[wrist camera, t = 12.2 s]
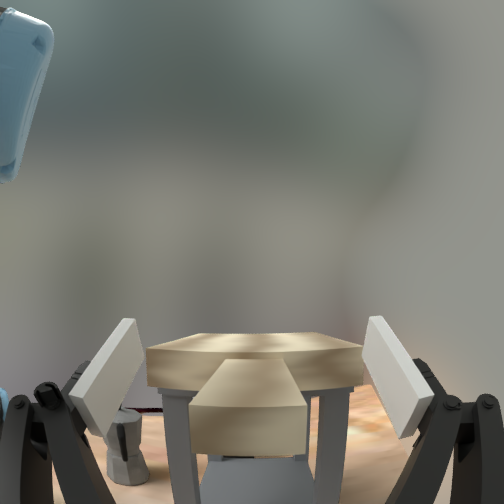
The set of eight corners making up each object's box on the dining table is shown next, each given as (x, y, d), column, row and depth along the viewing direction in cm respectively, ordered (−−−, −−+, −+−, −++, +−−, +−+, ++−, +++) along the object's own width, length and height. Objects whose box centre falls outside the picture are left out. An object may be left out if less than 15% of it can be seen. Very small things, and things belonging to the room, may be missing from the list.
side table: (186, 568, 18) (156, 373, 24) (211, 488, 41) (204, 347, 47) (327, 568, 17) (354, 371, 24) (305, 488, 41) (310, 346, 47)
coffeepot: (106, 461, 45) (95, 391, 49) (145, 461, 49) (137, 392, 53) (108, 497, 32) (91, 415, 35) (157, 496, 36) (146, 416, 40)
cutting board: (60, 433, 8) (52, 368, 9) (200, 354, 39) (199, 333, 39) (444, 434, 8) (452, 367, 9) (314, 352, 38) (314, 332, 39)
